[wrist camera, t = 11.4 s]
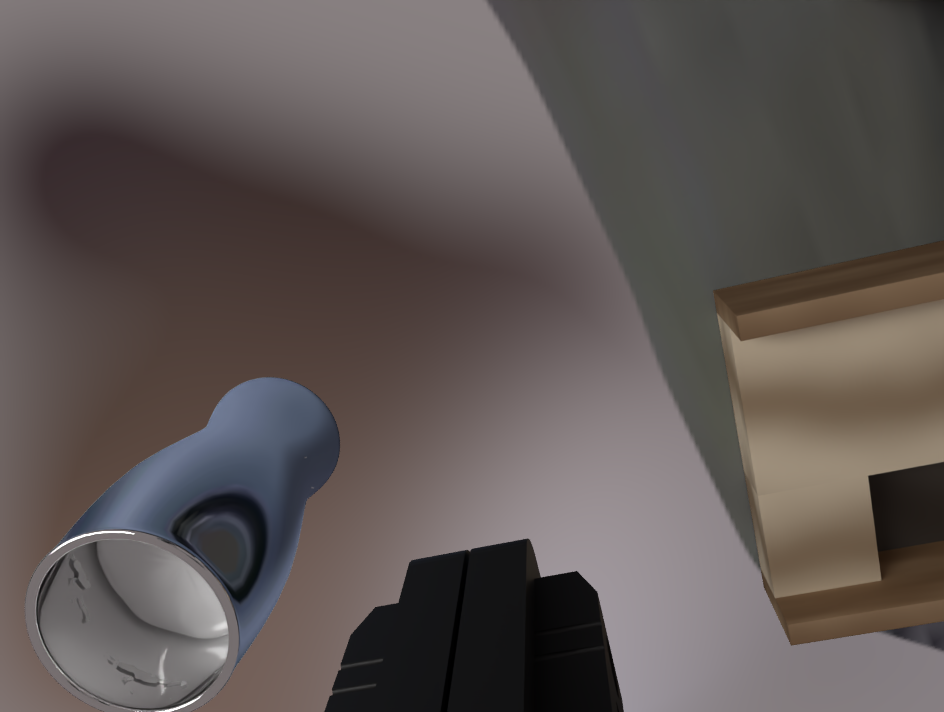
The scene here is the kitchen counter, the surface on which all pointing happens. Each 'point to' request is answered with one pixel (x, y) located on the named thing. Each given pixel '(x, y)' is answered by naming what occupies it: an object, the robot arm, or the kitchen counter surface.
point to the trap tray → (844, 439)
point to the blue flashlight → (183, 556)
